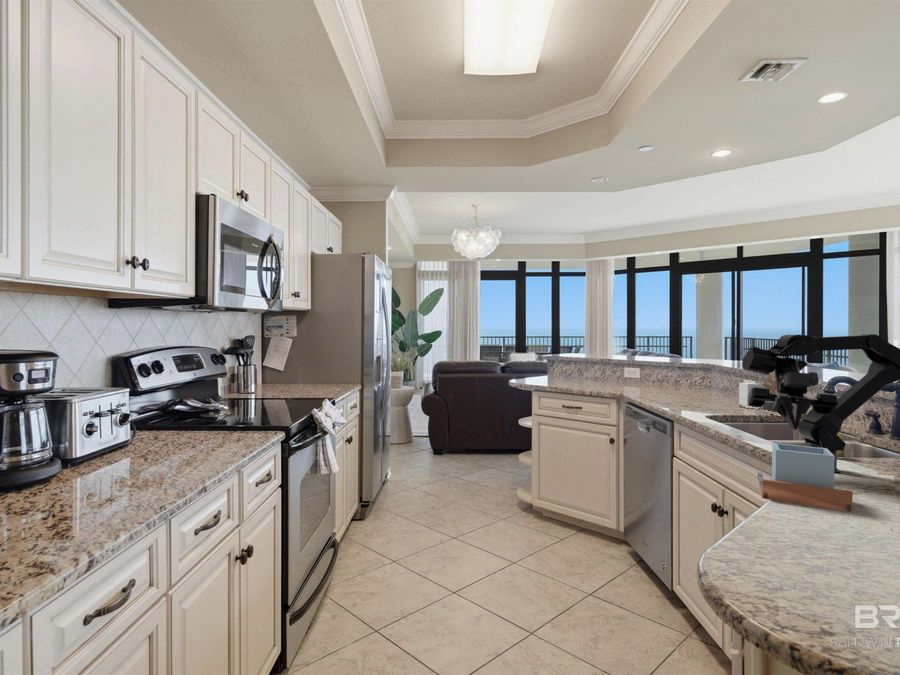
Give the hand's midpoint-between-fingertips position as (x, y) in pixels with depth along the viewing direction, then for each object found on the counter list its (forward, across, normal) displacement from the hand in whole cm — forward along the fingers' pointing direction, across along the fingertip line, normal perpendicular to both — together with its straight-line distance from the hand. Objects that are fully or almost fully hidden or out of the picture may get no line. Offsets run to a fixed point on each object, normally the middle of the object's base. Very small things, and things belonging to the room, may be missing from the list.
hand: (795, 428), depth 122 cm
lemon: (-12, +19, +33) cm, 40 cm away
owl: (-69, +26, +100) cm, 124 cm away
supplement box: (-82, +18, +116) cm, 143 cm away
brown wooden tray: (+20, -3, -5) cm, 21 cm away
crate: (+21, -3, -7) cm, 22 cm away
